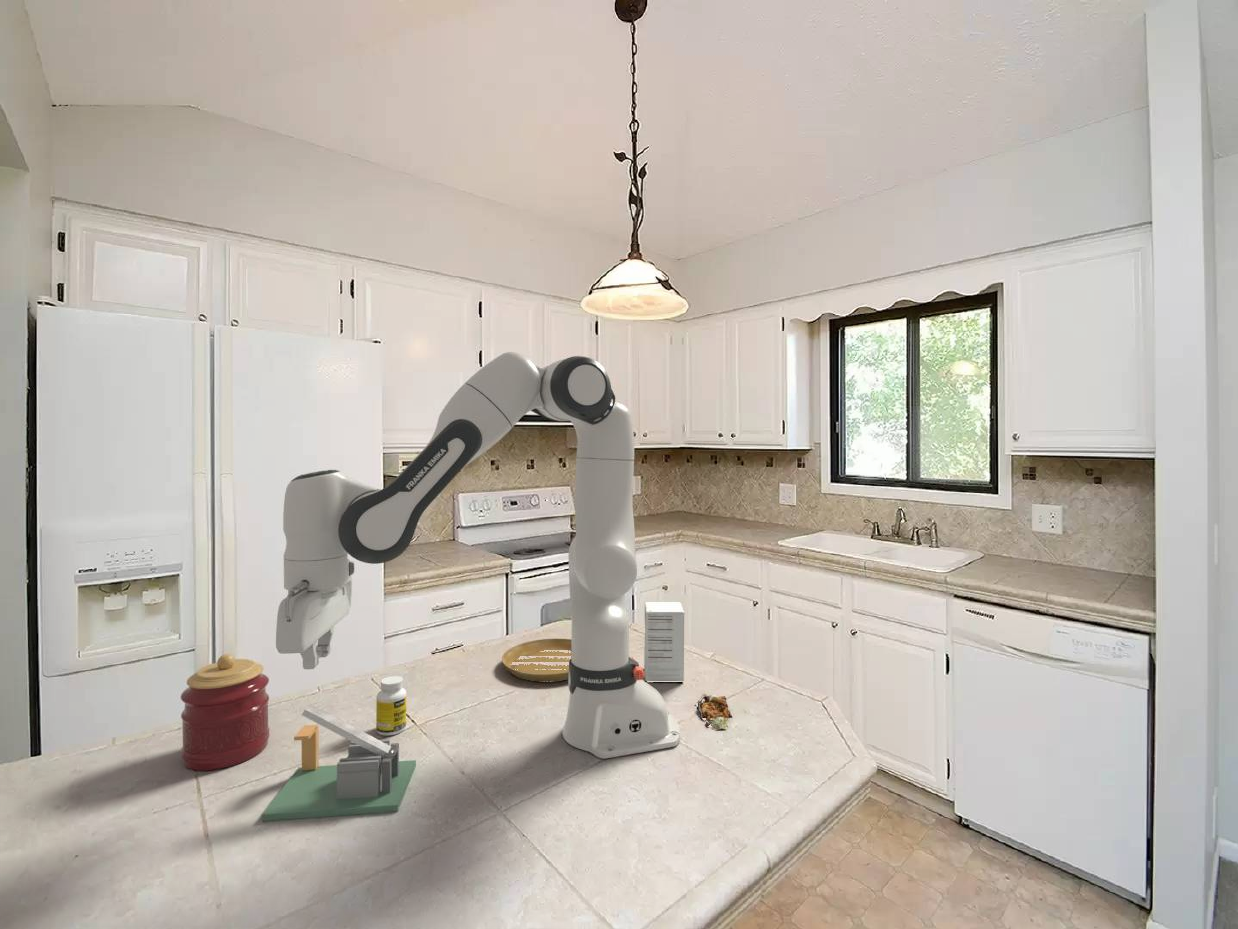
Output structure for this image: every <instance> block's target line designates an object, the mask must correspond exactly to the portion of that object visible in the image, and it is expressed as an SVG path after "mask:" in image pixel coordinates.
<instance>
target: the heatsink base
mask: <svg viewBox="0 0 1238 929" xmlns="http://www.w3.org/2000/svg"><path fill="white" fill-rule="evenodd" d="M379 740H380V741H382V742H384V743H385V744H387V745H389V746H391V745H396V746H397V748H398V750H397V752H396V754H395V756H394V758H393V760H392V762H391V758H386V759H384V758H382V757H381V756H378V755H377V754H375V753H373V752H371V751H369V750H367V749H365V748H363V747H361V746H359V745H358V744H356V743H354V742H352V741H350V744H349V746H348V747H347V748H348V755H347V757H345V758H344V757H342V758H339V761H338V762H337V763H336V764H333V765H332V764H331V765H319V766H318V767H317V769H316V770H302V766H301V767H297V769H296V770H295V771H294V772H293V774H292V775H291V777H290V778H289V779H288V781H287V782H286V783H285V784H284V785H283V787H282V788H281V789H280V791H279V792H278V793H277V795H276V796H274V798H273V800H272V801H271V802H270V803H269V805H268V806H267V808H266V809H265V810H264V811H263V813H262V814H261V817H262V818H261V821H262V822H271V821H285V820H299V819H311V818H315V819H316V818H325V817H327V818H328V817H339V816H341V817H342V816H355V815H366V814H367V815H368V814H381V813H393V812H394V813H395V812H398V811H399V809H400V806H401V803H402V801H403V798H404V796H405V794H406V791H407V788H408V787H409V783H410V782H411V779H412V777H413V774H414V772H415V769H416V766H417V760H416V759H415V760H400V743H399V742H395V743H391V739H390V738H389V739H379Z"/></svg>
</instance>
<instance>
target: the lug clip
mask: <svg viewBox="0 0 1238 929" xmlns="http://www.w3.org/2000/svg"><path fill="white" fill-rule="evenodd" d="M293 741H301V767H302V770H316V769H317V767H318V766H320V762H319V760H320V758H319V752H320V751H319V750H320V749H319V746H320V745H319V724H305V725H303V726H302V727H301V728H300V729H299V730H298V731H297V733H296V734H295V735H294V736H293Z"/></svg>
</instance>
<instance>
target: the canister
mask: <svg viewBox="0 0 1238 929" xmlns="http://www.w3.org/2000/svg"><path fill="white" fill-rule="evenodd" d="M263 671H264V666H263V665H262V664H260V663H258V662H254V661H253V660H252V659H245V658H244V659H243V658H235V657H234V655H232V654H230V653H229V654H228V653H226V654H222V655H221V656H220V657H219V658H218V659H217V661H216V662H214V663H210V664H208V665H205V666H203V667H201V668H200V669H198V670H197V671H196V672H195V673H193V674H192V675H191V676H189V677H188V678H187V680H186V685H187V686H188V687H186V689H184V690H183V691H182V693H181V695H180V701H182V702H183V703H184V709H183V711H182V712H181V715H180V719H181V721H182V722H181V724H182V727H181V728H182V748H181V750H180V751H181V758H182V761H183V765H184V766H185V768H188V769H190V770H194V771H213V770H214V771H215V770H220V769H224V768H229V767H232V766H235V765H238V764H241V763H243V762H246V761H248V760H250V759H252V758H254V757H255V756H258V754H260V753H261V752H262V751H264V749H265V748H266V747H267V746H268V743H269V737H270V727H269V700H270V697H269V694H268V693H267V689H266V687H267V686H268V684H269V681H270V679H269V676H267V675H265V674H263Z"/></svg>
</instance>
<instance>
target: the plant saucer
mask: <svg viewBox="0 0 1238 929" xmlns="http://www.w3.org/2000/svg"><path fill="white" fill-rule="evenodd" d="M544 650H568V651H569V650H570V651H571V638H542V639H536V640H535V639H533V640H530V641H525V642H522V643H519V644H517V645H514V646H512V647H510V648H509V649H507V650H506V651H505V652H504V653H503V655H502V657H501V661H502V664H503V666H504V668H505V669H506V670H507V672H509V673H510V674H512V675H513V676H515V677H516V678H519V679H521V678H522V680H524V679H525V680H524V681H528V680H530V681H529V682H534V681H542V682H541V683H551V682H550V681H558V682H563V680H565V681H568V667H569V665H567V666H565V665H563V666H562V665H559V666H558V665H557V664H556V666H554V665H553V666H551V665H549V666H548V665H540V664H538V665H536V664H533V663H531V664H529V665H528V664H527V665H526V664H525V665H524V664H519V665H511V664H512V662H569V658H568V659H567V658H564V659H563V658H560V659H558V658H557V657H554V658H553V659H552V658H550V659H549V657H547V658H546V657H541V658H540V657H536V658H532V659H525V658H524V659H523V660H522V659H520V660H519V659H518V658H519V657H520V656H571V653H569V652H568V653H564V652H559V651H557V652H555V651H554V652H552V651H551V652H549V651H548V652H546V651H545V652H540V651H544ZM517 659H518V660H517ZM566 659H567V660H566ZM515 669H516V670H515ZM517 669H518V670H517ZM535 669H538V670H535ZM540 669H541V670H540ZM542 669H546V670H542ZM548 669H562V670H548ZM564 669H566V670H564ZM543 681H545V682H543ZM546 681H548V682H546Z"/></svg>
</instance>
